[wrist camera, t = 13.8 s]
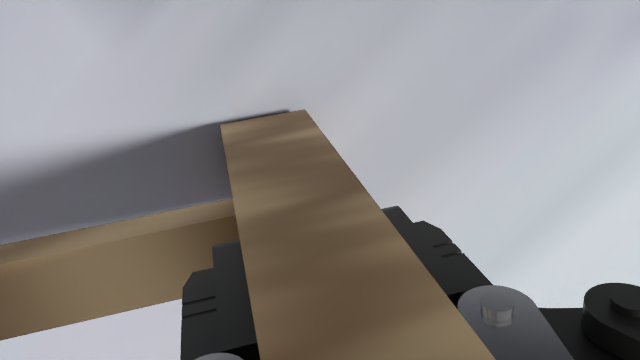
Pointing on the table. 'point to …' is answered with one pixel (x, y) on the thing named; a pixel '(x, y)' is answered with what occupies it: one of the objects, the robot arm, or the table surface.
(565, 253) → the table surface
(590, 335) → the robot arm
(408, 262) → the oak rake
